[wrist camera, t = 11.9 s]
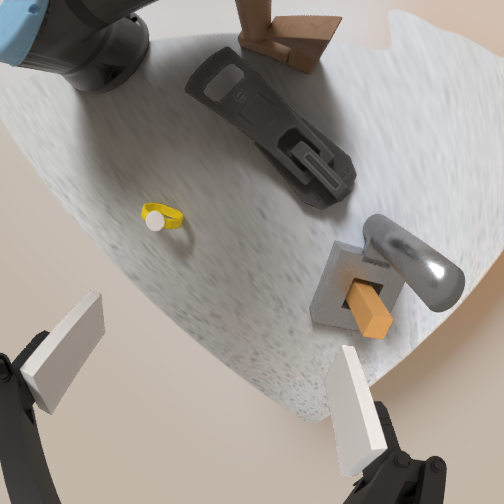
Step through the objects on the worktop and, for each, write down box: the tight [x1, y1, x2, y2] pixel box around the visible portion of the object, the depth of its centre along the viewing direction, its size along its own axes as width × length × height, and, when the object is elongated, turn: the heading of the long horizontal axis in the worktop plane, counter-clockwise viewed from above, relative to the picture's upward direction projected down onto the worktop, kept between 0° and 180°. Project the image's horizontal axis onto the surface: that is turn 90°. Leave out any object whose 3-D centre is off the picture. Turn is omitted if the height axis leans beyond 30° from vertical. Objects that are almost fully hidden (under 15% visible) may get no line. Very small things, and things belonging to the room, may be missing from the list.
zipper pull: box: [184, 47, 356, 209], centre depth 33 cm, size 9×7×25 cm
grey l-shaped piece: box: [309, 214, 465, 331], centre depth 33 cm, size 18×12×20 cm
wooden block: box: [235, 0, 342, 74], centre depth 24 cm, size 4×11×18 cm, turn 65°
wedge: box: [346, 277, 394, 339], centre depth 38 cm, size 3×3×12 cm
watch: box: [141, 203, 184, 231], centre depth 38 cm, size 6×3×6 cm, turn 68°
